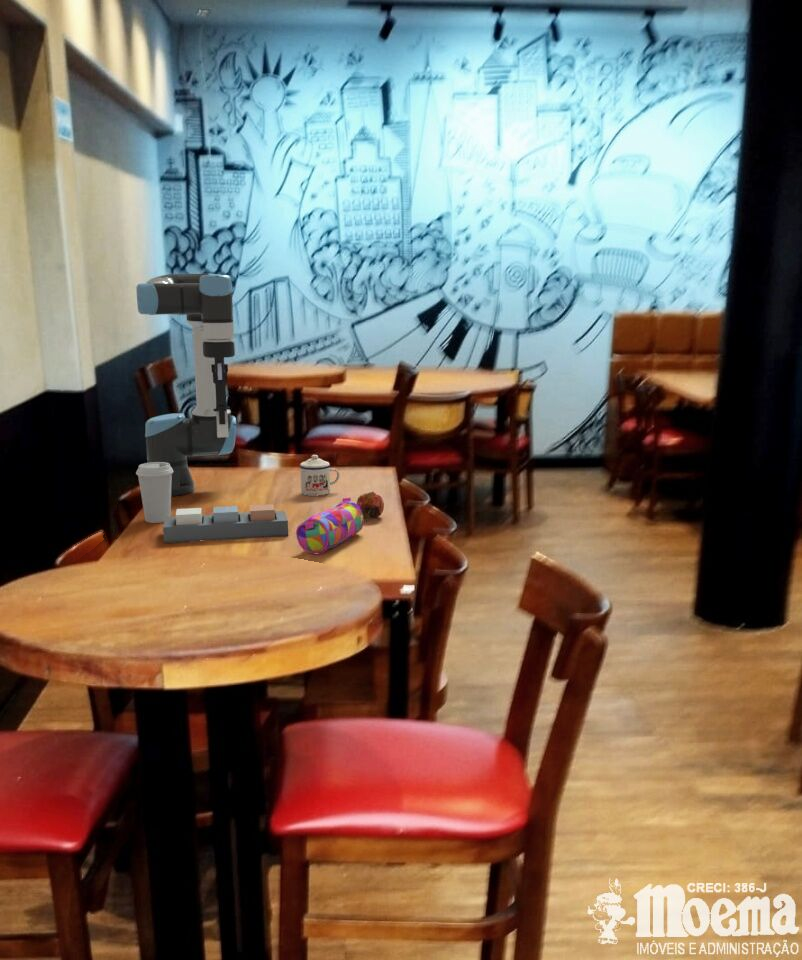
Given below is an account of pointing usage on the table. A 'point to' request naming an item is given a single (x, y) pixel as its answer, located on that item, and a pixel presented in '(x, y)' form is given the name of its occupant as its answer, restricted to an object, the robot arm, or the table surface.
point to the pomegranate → (371, 505)
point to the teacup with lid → (316, 476)
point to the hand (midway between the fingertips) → (223, 436)
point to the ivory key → (188, 516)
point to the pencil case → (330, 527)
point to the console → (225, 529)
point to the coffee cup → (155, 490)
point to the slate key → (225, 514)
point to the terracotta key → (262, 512)
